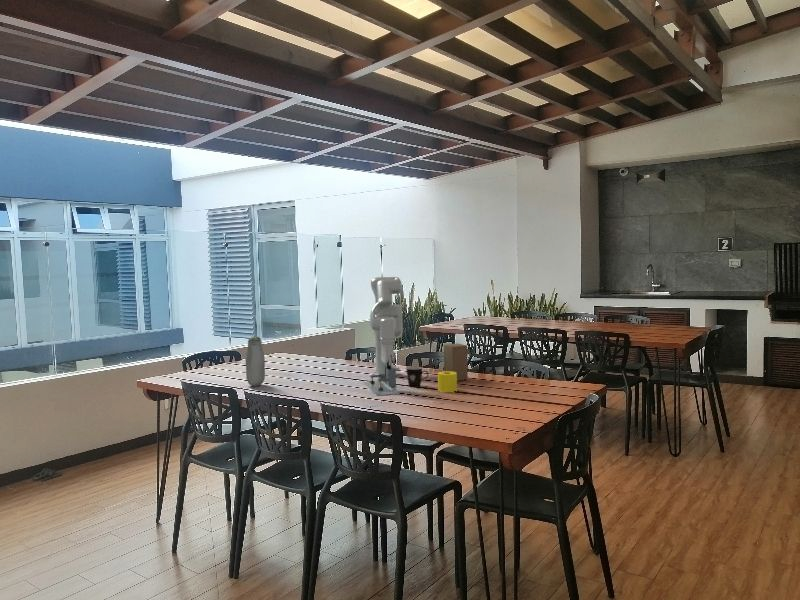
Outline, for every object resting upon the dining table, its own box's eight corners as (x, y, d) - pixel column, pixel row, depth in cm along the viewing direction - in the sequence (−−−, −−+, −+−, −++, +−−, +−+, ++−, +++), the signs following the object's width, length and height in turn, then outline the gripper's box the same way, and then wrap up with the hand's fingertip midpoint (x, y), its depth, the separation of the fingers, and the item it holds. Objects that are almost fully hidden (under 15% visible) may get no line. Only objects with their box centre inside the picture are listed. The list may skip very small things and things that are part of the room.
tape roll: (436, 389, 326) (436, 371, 325) (455, 388, 327) (454, 371, 326) (439, 393, 316) (439, 375, 315) (458, 392, 317) (458, 374, 316)
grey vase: (260, 387, 338) (259, 337, 336) (243, 387, 340) (241, 337, 338) (268, 384, 347) (266, 335, 345) (251, 383, 349) (249, 335, 348)
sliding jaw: (393, 384, 324) (393, 367, 324) (396, 386, 320) (395, 369, 319) (377, 386, 322) (376, 368, 321) (379, 388, 317) (379, 370, 316)
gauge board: (384, 382, 345) (384, 372, 344) (399, 393, 316) (398, 382, 316) (363, 384, 342) (363, 373, 341) (376, 395, 313) (376, 384, 312)
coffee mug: (403, 386, 334) (403, 368, 334) (413, 383, 341) (413, 366, 340) (419, 389, 326) (419, 370, 326) (429, 386, 333) (429, 368, 332)
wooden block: (467, 380, 348) (467, 345, 347) (452, 381, 344) (452, 346, 342) (458, 377, 357) (458, 343, 356) (444, 378, 353) (443, 344, 351)
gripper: (377, 340, 331) (378, 373, 332) (384, 343, 317) (385, 378, 318) (390, 339, 333) (391, 372, 334) (398, 342, 319) (398, 377, 320)
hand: (388, 375), depth 326 cm, fingers closed
